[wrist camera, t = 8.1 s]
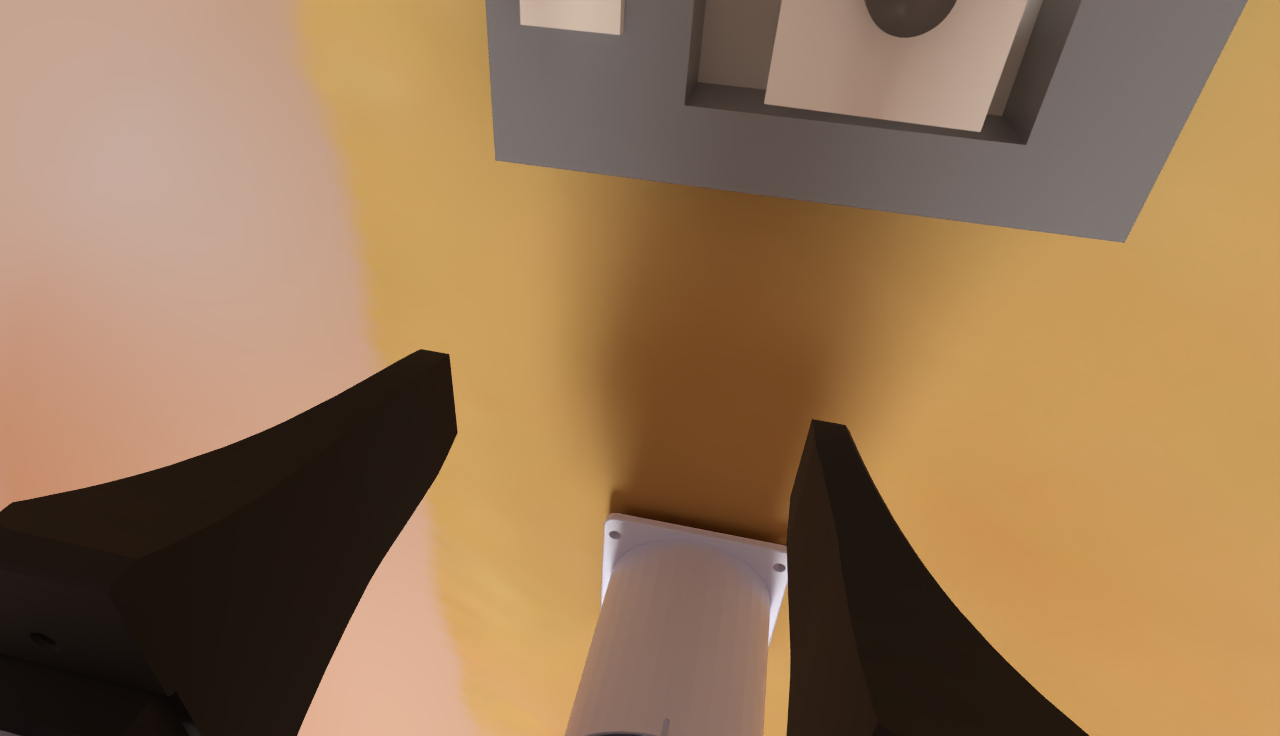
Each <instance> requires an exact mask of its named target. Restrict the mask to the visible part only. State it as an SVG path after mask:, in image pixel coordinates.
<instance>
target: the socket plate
mask: <svg viewBox="0 0 1280 736" xmlns="http://www.w3.org/2000/svg"><path fill="white" fill-rule="evenodd" d="M485 1H486V17H487V33H488V49H489V65H490V81H491V97H492V113H493V129H494V145H495V160H496V161H504V162H511V163H519V164H527V165H534V166H542V167H550V168H557V169H565V170H573V171H580V172H588V173H595V174H603V175H611V176H618V177H626V178H634V179H641V180H649V181H657V182H664V183H672V184H680V185H687V186H695V187H702V188H710V189H718V190H725V191H733V192H741V193H748V194H756V195H764V196H771V197H779V198H787V199H794V200H802V201H809V202H817V203H825V204H832V205H840V206H848V207H855V208H863V209H871V210H878V211H886V212H894V213H901V214H909V215H916V216H924V217H932V218H939V219H947V220H955V221H962V222H970V223H978V224H985V225H993V226H1001V227H1008V228H1016V229H1023V230H1031V231H1039V232H1046V233H1054V234H1062V235H1069V236H1077V237H1085V238H1092V239H1100V240H1108V241H1115V242H1123V243H1125V241H1126V239H1127V237H1128V235H1129V233H1130V231H1131V229H1132V227H1133V225H1134V223H1135V221H1136V219H1137V217H1138V215H1139V213H1140V211H1141V209H1142V207H1143V205H1144V203H1145V201H1146V199H1147V197H1148V195H1149V193H1150V191H1151V190H1152V188H1153V186H1154V184H1155V182H1156V180H1157V178H1158V176H1159V174H1160V172H1161V170H1162V168H1163V166H1164V164H1165V162H1166V160H1167V158H1168V156H1169V154H1170V152H1171V150H1172V148H1173V146H1174V144H1175V142H1176V140H1177V138H1178V136H1179V134H1180V132H1181V131H1182V129H1183V127H1184V125H1185V123H1186V121H1187V119H1188V117H1189V115H1190V113H1191V111H1192V109H1193V107H1194V105H1195V103H1196V101H1197V99H1198V97H1199V95H1200V93H1201V91H1202V89H1203V87H1204V85H1205V83H1206V81H1207V79H1208V77H1209V75H1210V74H1211V72H1212V70H1213V68H1214V66H1215V64H1216V62H1217V60H1218V58H1219V56H1220V54H1221V52H1222V50H1223V48H1224V46H1225V44H1226V42H1227V40H1228V38H1229V36H1230V34H1231V32H1232V30H1233V28H1234V26H1235V24H1236V22H1237V20H1238V18H1239V17H1240V15H1241V13H1242V11H1243V9H1244V7H1245V5H1246V3H1247V1H1248V0H1028V1H1027V4H1026V7H1025V9H1024V12H1023V15H1022V18H1021V21H1020V23H1019V26H1018V29H1017V32H1016V34H1015V37H1014V40H1013V43H1012V46H1011V48H1010V51H1009V54H1008V57H1007V60H1006V62H1005V65H1004V68H1003V71H1002V73H1001V76H1000V79H999V82H998V85H997V87H996V90H995V93H994V96H993V98H992V101H991V104H990V107H989V110H988V112H987V115H986V118H985V121H984V124H983V126H982V129H981V132H975V131H968V130H960V129H952V128H945V127H937V126H929V125H922V124H914V123H907V122H899V121H891V120H884V119H876V118H868V117H861V116H853V115H845V114H838V113H830V112H823V111H815V110H807V109H800V108H792V107H784V106H777V105H769V104H764V100H765V95H766V89H767V83H768V77H769V72H770V66H771V60H772V54H773V49H774V43H775V37H776V31H777V26H778V20H779V14H780V8H781V3H782V0H485Z"/></svg>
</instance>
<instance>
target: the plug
mask: <svg viewBox="0 0 1280 736" xmlns="http://www.w3.org/2000/svg"><path fill="white" fill-rule="evenodd" d="M1027 1H1028V0H782V3H781V8H780V14H779V20H778V26H777V31H776V37H775V43H774V49H773V54H772V60H771V66H770V72H769V77H768V83H767V89H766V95H765V100H764V104H769V105H777V106H784V107H792V108H800V109H807V110H815V111H823V112H830V113H838V114H845V115H853V116H861V117H868V118H876V119H884V120H891V121H899V122H907V123H914V124H922V125H929V126H937V127H945V128H952V129H960V130H968V131H975V132H981V129H982V126H983V124H984V121H985V118H986V115H987V112H988V110H989V107H990V104H991V101H992V98H993V96H994V93H995V90H996V87H997V85H998V82H999V79H1000V76H1001V73H1002V71H1003V68H1004V65H1005V62H1006V60H1007V57H1008V54H1009V51H1010V48H1011V46H1012V43H1013V40H1014V37H1015V34H1016V32H1017V29H1018V26H1019V23H1020V21H1021V18H1022V15H1023V12H1024V9H1025V7H1026V4H1027Z"/></svg>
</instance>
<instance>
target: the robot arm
mask: <svg viewBox="0 0 1280 736" xmlns="http://www.w3.org/2000/svg"><path fill="white" fill-rule="evenodd" d="M456 435H457V423H456V414H455V404H454V395H453V385H452V376H451V366H450V357H449V354H445V353H439V352H434V351H428V350H422V349H420V350H418V351H416V352H414V353H412V354H410V355H408V356H406V357H405V358H403V359H401V360H399V361H397V362H395V363H394V364H392V365H390V366H388V367H387V368H385V369H383V370H381V371H380V372H378V373H376V374H374V375H373V376H371V377H369V378H367V379H366V380H364V381H362V382H360V383H358V384H356V385H355V386H353V387H351V388H349V389H347V390H346V391H344V392H342V393H340V394H338V395H337V396H335V397H333V398H331V399H329V400H327V401H325V402H323V403H321V404H319V405H317V406H315V407H313V408H311V409H309V410H307V411H305V412H303V413H301V414H299V415H297V416H295V417H293V418H291V419H289V420H287V421H285V422H283V423H281V424H278V425H276V426H274V427H272V428H270V429H267V430H265V431H263V432H261V433H258V434H256V435H253V436H251V437H248V438H246V439H243V440H241V441H238V442H236V443H233V444H231V445H228V446H225V447H223V448H220V449H217V450H214V451H211V452H208V453H205V454H202V455H199V456H196V457H193V458H190V459H188V460H185V461H182V462H179V463H176V464H173V465H170V466H166V467H163V468H160V469H156V470H153V471H149V472H146V473H142V474H139V475H135V476H131V477H127V478H124V479H120V480H116V481H112V482H108V483H104V484H100V485H96V486H91V487H87V488H83V489H78V490H73V491H68V492H63V493H58V494H53V495H49V496H44V497H39V498H34V499H29V500H23V501H18V502H13V503H11V504H10V505H8V506H7V507H6V508H4V509H3V510H2V511H1V512H0V736H297V734H298V732H299V730H300V727H301V725H302V722H303V720H304V718H305V715H306V713H307V711H308V708H309V706H310V704H311V702H312V700H313V697H314V695H315V693H316V690H317V688H318V686H319V684H320V682H321V679H322V677H323V675H324V672H325V670H326V668H327V666H328V664H329V662H330V659H331V658H332V655H333V653H334V651H335V649H336V647H337V645H338V643H339V641H340V639H341V637H342V635H343V633H344V631H345V628H346V626H347V624H348V622H349V620H350V618H351V617H352V614H353V613H354V610H355V609H356V607H357V605H358V603H359V601H360V599H361V597H362V595H363V593H364V591H365V589H366V587H367V585H368V583H369V581H370V580H371V578H372V576H373V575H374V573H375V571H376V570H377V568H378V566H379V565H380V563H381V561H382V560H383V558H384V557H385V555H386V554H387V552H388V551H389V549H390V547H391V546H392V544H393V543H394V541H395V540H396V538H397V537H398V535H399V534H400V532H401V531H402V529H403V528H404V526H405V525H406V523H407V521H408V520H409V519H410V517H411V516H412V514H413V513H414V511H415V509H416V508H417V506H418V505H419V503H420V502H421V500H422V499H423V497H424V496H425V494H426V493H427V491H428V489H429V488H430V486H431V485H432V483H433V482H434V480H435V478H436V477H437V475H438V473H439V471H440V469H441V467H442V465H443V463H444V461H445V459H446V457H447V455H448V453H449V450H450V448H451V446H452V444H453V442H454V439H455V437H456ZM615 531H617V532H615ZM787 583H788V599H789V624H790V649H791V666H790V690H789V707H788V723H787V736H1089V735H1088V734H1087V733H1086V732H1084V731H1083V730H1082V729H1081V728H1080V727H1079V726H1077V725H1076V724H1075V723H1074V722H1073V721H1072V720H1070V719H1069V718H1068V717H1067V716H1066V715H1065V714H1063V713H1062V712H1061V711H1060V710H1059V709H1058V708H1056V707H1055V706H1054V705H1053V704H1052V703H1051V702H1049V701H1048V700H1047V699H1046V698H1045V697H1044V696H1043V695H1041V694H1040V693H1039V692H1038V691H1037V690H1036V689H1035V688H1034V687H1033V686H1032V685H1031V684H1030V683H1029V682H1028V681H1027V680H1026V679H1025V678H1024V677H1022V676H1021V675H1020V674H1019V673H1018V672H1017V671H1016V670H1015V669H1014V668H1013V667H1012V666H1011V665H1010V664H1009V663H1008V662H1007V661H1006V660H1005V659H1004V658H1003V657H1002V656H1001V655H1000V654H999V653H998V652H997V651H996V650H995V649H994V648H993V647H992V646H991V645H990V644H989V642H988V641H987V640H986V639H985V638H984V637H983V636H982V635H981V634H980V633H979V631H978V630H977V629H976V628H975V627H974V626H973V625H972V624H971V623H970V622H969V620H968V619H967V618H966V617H965V616H964V615H963V614H962V613H961V612H960V610H959V609H958V608H957V607H956V606H955V605H954V603H953V602H952V601H951V600H950V598H949V597H948V596H947V595H946V594H945V592H944V591H943V590H942V588H941V587H940V586H939V584H938V583H937V582H936V580H935V579H934V578H933V577H932V575H931V574H930V573H929V571H928V570H927V568H926V567H925V566H924V564H923V563H922V561H921V560H920V558H919V557H918V556H917V554H916V553H915V551H914V550H913V548H912V547H911V545H910V544H909V542H908V540H907V539H906V537H905V536H904V534H903V533H902V531H901V530H900V528H899V526H898V525H897V523H896V521H895V520H894V518H893V516H892V515H891V513H890V511H889V509H888V508H887V506H886V504H885V502H884V501H883V499H882V497H881V495H880V493H879V492H878V490H877V488H876V486H875V484H874V482H873V480H872V478H871V477H870V475H869V472H868V470H867V468H866V466H865V464H864V462H863V460H862V458H861V456H860V454H859V452H858V450H857V447H856V445H855V443H854V441H853V438H852V436H851V434H850V431H849V430H848V428H847V427H846V426H845V425H842V424H836V423H830V422H825V421H819V420H814V419H812V421H811V425H810V428H809V432H808V436H807V439H806V443H805V447H804V450H803V454H802V457H801V461H800V465H799V468H798V472H797V475H796V479H795V483H794V486H793V490H792V493H791V497H790V508H789V520H788V532H787V546H785V545H780V544H775V543H770V542H765V541H759V540H754V539H749V538H744V537H739V536H734V535H728V534H723V533H718V532H713V531H708V530H703V529H698V528H692V527H687V526H682V525H677V524H672V523H667V522H662V521H656V520H651V519H646V518H641V517H636V516H631V515H625V514H620V513H611V514H609V515H608V516H607V517H606V520H605V523H604V542H603V565H602V588H601V611H600V615H599V618H598V621H597V625H596V628H595V632H594V635H593V639H592V642H591V646H590V649H589V653H588V656H587V660H586V663H585V667H584V670H583V674H582V677H581V680H580V684H579V687H578V691H577V694H576V698H575V701H574V705H573V708H572V712H571V715H570V719H569V722H568V726H567V729H566V732H565V736H763V730H764V712H765V694H766V675H767V657H768V648H769V645H770V641H771V638H772V634H773V631H774V628H775V624H776V621H777V617H778V614H779V610H780V607H781V603H782V600H783V597H784V593H785V590H786V586H787Z"/></svg>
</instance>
